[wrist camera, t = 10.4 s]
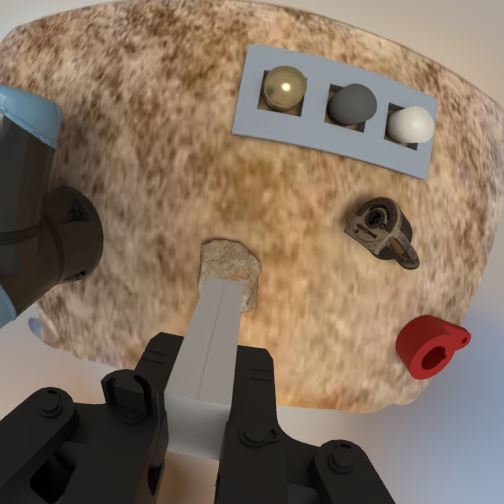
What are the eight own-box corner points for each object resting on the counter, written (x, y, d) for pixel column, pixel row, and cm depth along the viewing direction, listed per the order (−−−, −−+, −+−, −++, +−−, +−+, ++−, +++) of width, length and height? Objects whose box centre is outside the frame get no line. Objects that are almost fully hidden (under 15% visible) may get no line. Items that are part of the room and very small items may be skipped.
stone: (201, 302, 42) (192, 319, 38) (203, 236, 38) (192, 247, 34) (257, 311, 42) (253, 329, 37) (265, 244, 38) (261, 257, 33)
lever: (388, 358, 45) (401, 381, 39) (405, 314, 42) (423, 335, 36) (455, 353, 46) (470, 371, 39) (473, 314, 43) (491, 331, 36)
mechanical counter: (354, 182, 36) (384, 191, 26) (422, 221, 37) (461, 240, 28) (332, 230, 38) (354, 254, 28) (401, 263, 39) (434, 292, 30)
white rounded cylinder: (384, 137, 32) (402, 135, 27) (388, 106, 30) (406, 100, 25) (412, 147, 32) (431, 147, 27) (416, 117, 30) (435, 113, 26)
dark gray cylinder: (326, 120, 31) (336, 115, 27) (331, 88, 30) (342, 78, 25) (359, 129, 31) (374, 126, 27) (363, 98, 30) (379, 90, 25)
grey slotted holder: (233, 135, 34) (231, 133, 31) (249, 52, 30) (248, 43, 28) (415, 178, 35) (426, 180, 32) (426, 102, 31) (437, 99, 29)
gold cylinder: (261, 107, 31) (261, 99, 26) (266, 75, 30) (268, 62, 25) (297, 114, 31) (303, 107, 26) (302, 81, 30) (309, 70, 25)
